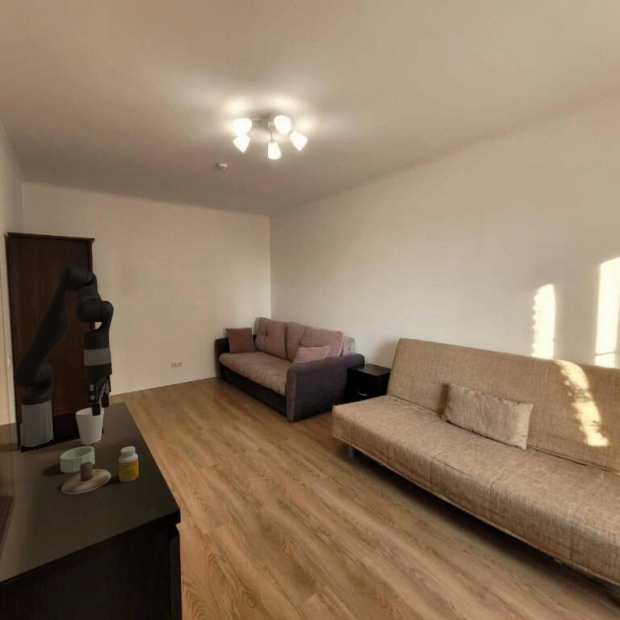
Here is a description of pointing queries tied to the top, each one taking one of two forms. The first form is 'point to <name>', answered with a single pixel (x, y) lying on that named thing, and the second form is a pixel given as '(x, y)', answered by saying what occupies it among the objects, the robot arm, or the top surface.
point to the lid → (86, 478)
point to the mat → (86, 490)
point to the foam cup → (89, 425)
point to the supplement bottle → (128, 464)
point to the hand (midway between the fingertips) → (101, 411)
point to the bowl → (76, 458)
